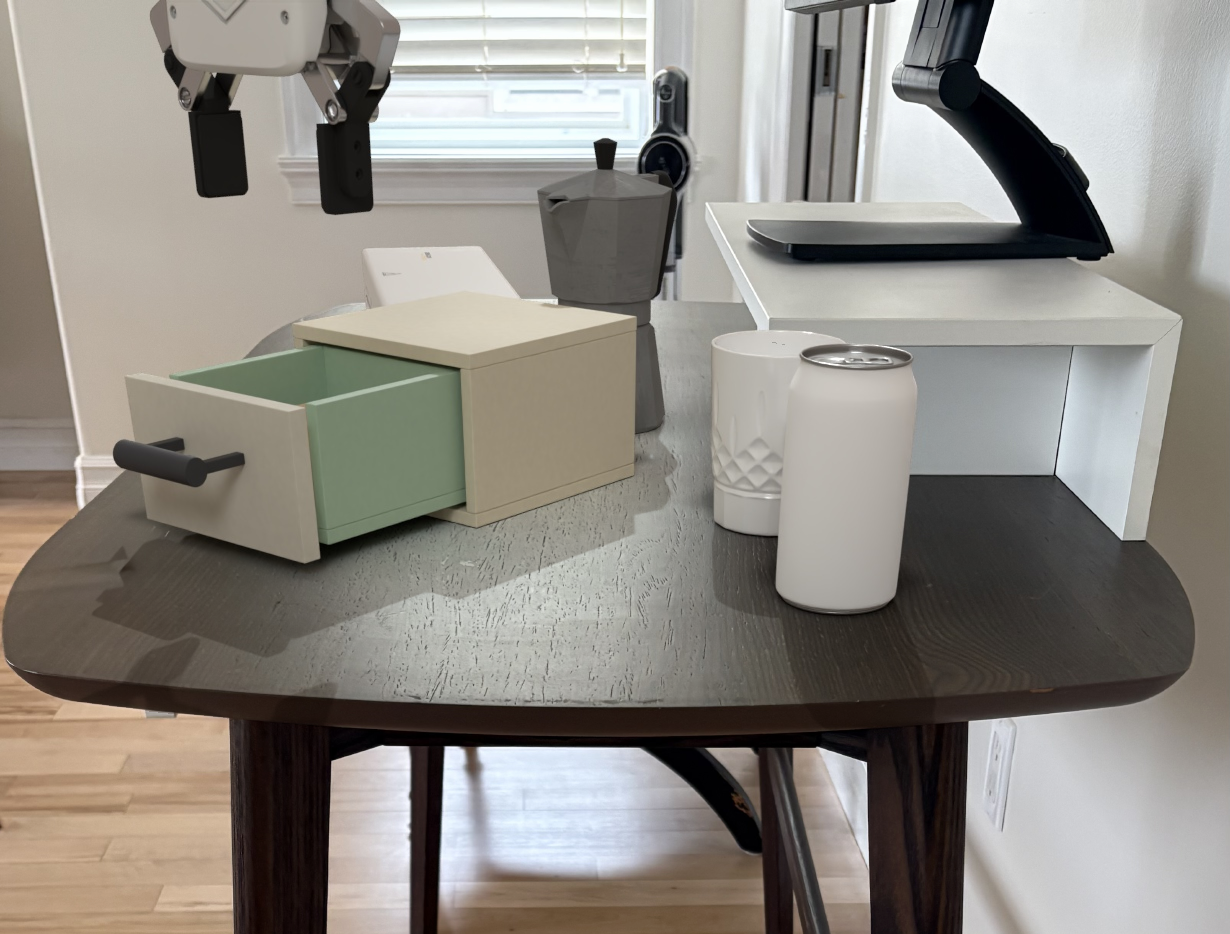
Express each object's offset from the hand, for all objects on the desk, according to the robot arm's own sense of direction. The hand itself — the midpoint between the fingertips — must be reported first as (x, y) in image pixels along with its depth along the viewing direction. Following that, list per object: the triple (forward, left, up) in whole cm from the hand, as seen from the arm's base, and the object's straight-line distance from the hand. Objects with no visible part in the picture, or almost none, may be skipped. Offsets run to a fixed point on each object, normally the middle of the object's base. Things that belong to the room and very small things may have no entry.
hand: (284, 203), depth 84 cm
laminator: (+22, +45, -17) cm, 53 cm away
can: (+23, -22, -17) cm, 36 cm away
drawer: (-2, -1, -16) cm, 16 cm away
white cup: (+26, -8, -17) cm, 32 cm away
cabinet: (+12, +7, -17) cm, 22 cm away
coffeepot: (+27, +20, -17) cm, 38 cm away
